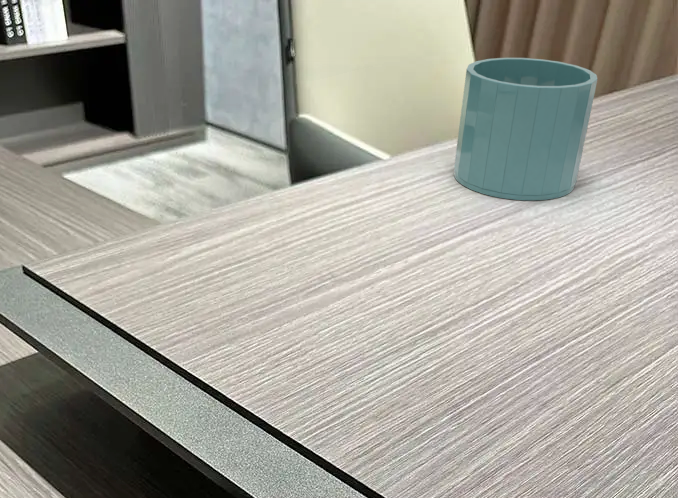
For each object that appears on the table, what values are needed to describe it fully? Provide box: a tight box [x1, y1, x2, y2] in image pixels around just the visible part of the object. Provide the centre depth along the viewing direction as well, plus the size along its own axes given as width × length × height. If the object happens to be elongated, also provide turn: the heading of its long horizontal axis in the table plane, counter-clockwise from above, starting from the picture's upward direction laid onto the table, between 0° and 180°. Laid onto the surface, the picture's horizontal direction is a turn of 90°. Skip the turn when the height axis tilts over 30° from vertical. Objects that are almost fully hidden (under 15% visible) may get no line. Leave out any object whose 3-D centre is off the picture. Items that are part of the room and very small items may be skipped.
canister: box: [453, 57, 598, 201], centre depth 75 cm, size 11×11×10 cm
